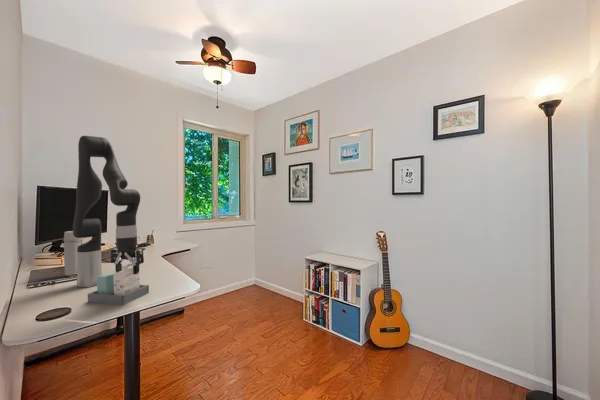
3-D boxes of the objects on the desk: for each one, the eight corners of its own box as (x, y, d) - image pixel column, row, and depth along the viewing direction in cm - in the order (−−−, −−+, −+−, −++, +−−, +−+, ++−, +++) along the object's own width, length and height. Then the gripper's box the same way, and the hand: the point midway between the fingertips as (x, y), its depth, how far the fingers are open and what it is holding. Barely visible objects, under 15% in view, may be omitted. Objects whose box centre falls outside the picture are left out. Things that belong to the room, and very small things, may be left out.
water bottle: (67, 278, 140) (65, 232, 140) (62, 276, 144) (61, 231, 144) (87, 274, 148) (86, 230, 147) (82, 272, 152) (81, 230, 152)
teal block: (97, 300, 108) (96, 276, 108) (115, 292, 116) (115, 270, 116) (106, 300, 107) (106, 277, 107) (124, 293, 115) (123, 271, 115)
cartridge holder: (87, 303, 106) (87, 293, 106) (116, 291, 119) (116, 283, 119) (123, 306, 103) (123, 296, 103) (148, 293, 115) (148, 285, 115)
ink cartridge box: (130, 293, 115) (130, 260, 114) (140, 294, 114) (139, 261, 113) (113, 301, 106) (112, 266, 106) (123, 302, 105) (122, 266, 105)
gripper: (104, 236, 107) (105, 275, 108) (133, 237, 105) (134, 277, 105) (120, 234, 115) (121, 270, 115) (147, 234, 112) (148, 271, 112)
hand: (127, 273), depth 110 cm, fingers open, 8 cm apart
